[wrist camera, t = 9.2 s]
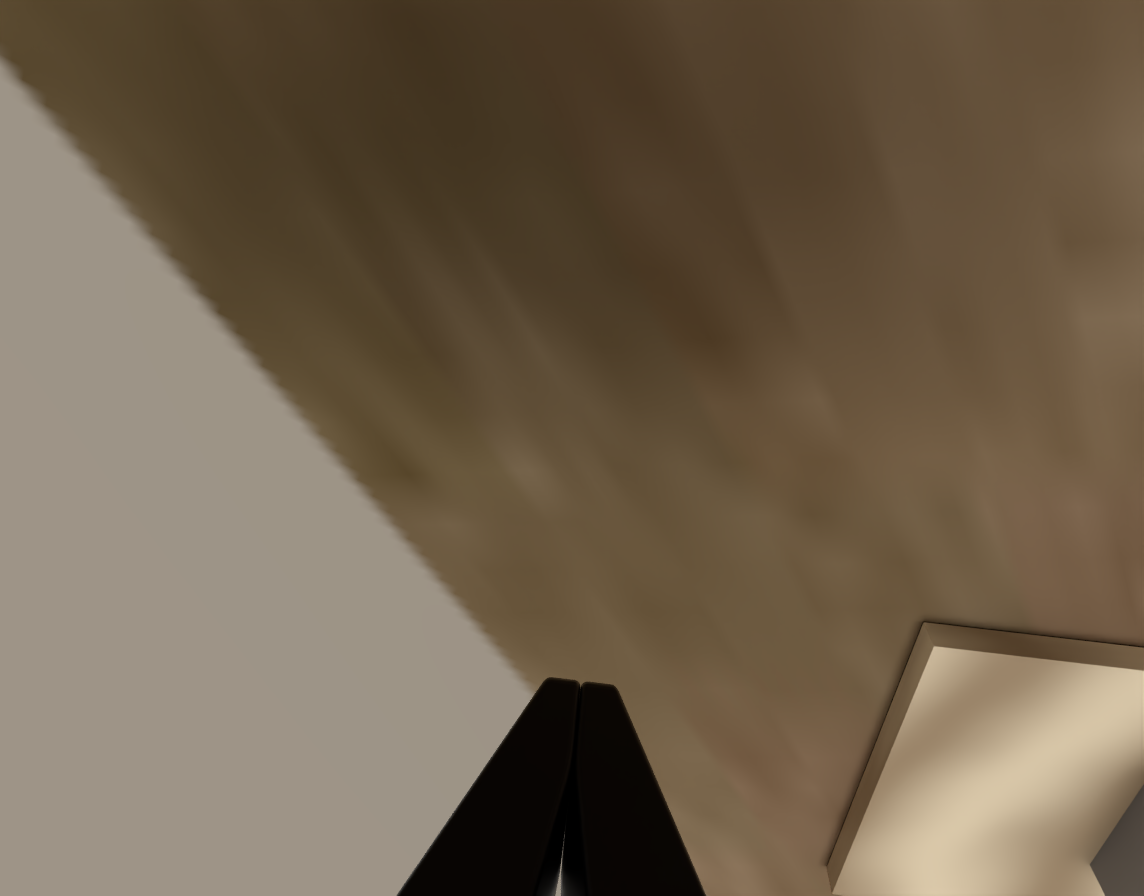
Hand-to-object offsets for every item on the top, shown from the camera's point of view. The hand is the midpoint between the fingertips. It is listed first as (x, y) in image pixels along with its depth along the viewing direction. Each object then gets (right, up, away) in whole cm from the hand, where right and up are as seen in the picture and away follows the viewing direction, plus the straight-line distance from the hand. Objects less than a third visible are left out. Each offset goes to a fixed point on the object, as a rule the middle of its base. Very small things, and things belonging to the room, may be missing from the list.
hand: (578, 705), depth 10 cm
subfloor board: (+18, -8, +17) cm, 26 cm away
